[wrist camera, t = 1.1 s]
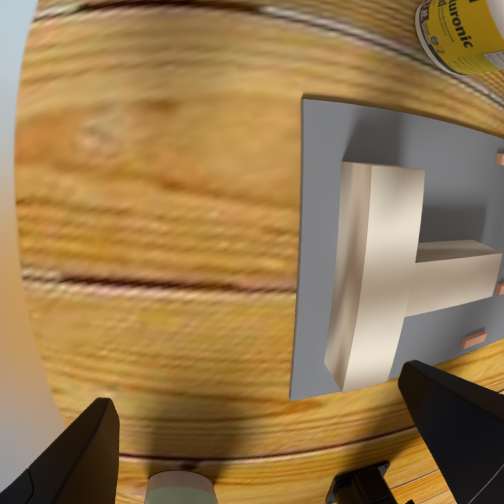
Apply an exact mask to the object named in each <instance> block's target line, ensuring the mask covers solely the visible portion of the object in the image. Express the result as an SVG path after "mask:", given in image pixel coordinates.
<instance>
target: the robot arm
mask: <svg viewBox="0 0 504 504" xmlns="http://www.w3.org/2000/svg"><path fill="white" fill-rule="evenodd" d="M398 387H399V390H400V392H401V394H402V396H403V399H404V401H405V403H406V406H407V408H408V410H409V413H410V415H411V417H412V419H413V422H414V423H415V425H416V427H417V429H418V431H419V433H420V434H421V436H422V438H423V440H424V442H425V443H426V445H427V447H428V449H429V451H430V453H431V454H432V456H433V458H434V460H435V462H436V464H437V466H438V467H439V469H440V471H441V473H442V475H443V477H444V479H445V481H446V483H447V485H448V487H449V488H450V490H451V492H452V494H453V496H454V498H455V500H456V502H457V504H504V395H503V394H499V393H498V392H495V391H493V390H490V389H488V388H485V387H483V386H480V385H477V384H475V383H472V382H470V381H467V380H465V379H462V378H460V377H457V376H455V375H452V374H450V373H447V372H445V371H443V370H440V369H438V368H435V367H433V366H430V365H428V364H426V363H423V362H421V361H418V360H410V361H407V362H405V363H404V364H403V367H402V370H401V373H400V376H399V379H398ZM119 429H120V421H119V417H118V414H117V411H116V409H115V406H114V404H113V401H112V400H111V399H110V398H101V397H99V398H97V399H95V400H94V401H93V402H92V403H91V404H90V405H89V406H88V407H87V408H86V409H85V410H84V411H83V412H82V413H81V414H80V415H79V416H78V417H77V418H76V419H75V420H74V421H73V422H72V423H71V424H70V425H69V426H68V427H67V428H66V429H65V430H64V432H63V433H62V434H60V435H59V436H58V438H57V439H55V441H54V442H53V443H52V444H51V445H50V446H49V447H48V448H47V449H46V450H45V451H44V452H43V453H42V454H41V455H40V456H39V457H38V458H37V459H36V460H35V461H34V462H33V463H32V464H31V465H30V466H29V469H28V468H27V469H26V470H25V471H24V472H23V473H22V474H21V475H20V476H19V477H18V478H17V479H16V480H15V481H13V482H12V484H10V485H9V486H8V487H7V488H6V489H4V490H3V491H2V492H1V493H0V504H115V497H116V487H117V479H118V470H119ZM389 466H390V463H389V461H386V462H383V463H380V464H377V465H374V466H371V467H368V468H365V469H362V470H359V471H356V472H353V473H349V474H346V475H342V476H339V477H337V478H335V479H334V481H333V483H332V486H331V488H330V491H329V493H328V496H327V498H326V500H325V502H326V504H332V503H335V502H337V504H398V503H397V501H396V499H395V498H394V496H393V494H392V492H391V490H390V488H389V486H388V485H387V483H386V481H385V479H384V477H383V476H384V475H385V473H386V471H387V469H388V468H389ZM405 504H415V503H414V502H413V500H412V499H411V500H409V501H407V503H405Z"/></svg>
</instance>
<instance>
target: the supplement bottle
mask: <svg viewBox="0 0 504 504" xmlns="http://www.w3.org/2000/svg"><path fill="white" fill-rule="evenodd" d="M415 26H416V31H417V35H418V38H419V40H420V43H421V45H422V47H423V48H424V50H425V52H426V53H427V55H428V56H429V57H430V59H431V60H432V61H433V62H434V63H435V64H436V65H437V66H439V67H440V68H441V69H443V70H444V71H446V72H448V73H451V74H454V75H467V74H475V73H483V72H493V71H504V0H427V1H426V2H424V3H422V4H421V5H420V6H419V7H418V9H417V11H416V15H415Z"/></svg>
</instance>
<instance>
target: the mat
mask: <svg viewBox="0 0 504 504" xmlns="http://www.w3.org/2000/svg"><path fill="white" fill-rule="evenodd" d="M341 161H345V162H362V163H377V164H390V165H397V166H403V167H409V168H415V169H421V170H425V179H424V193H423V204H422V214H421V223H420V232H419V239H418V243H424V242H441V241H457V240H475V241H477V242H479V243H482V244H484V245H486V246H488V247H490V248H493V249H495V250H497V251H499V252H501V253H502V258H501V263H500V267H499V272H498V276H497V280H496V284H495V288H494V292H493V295H492V296H491V297H488V298H484V299H480V300H477V301H473V302H469V303H465V304H461V305H457V306H453V307H448V308H444V309H440V310H435V311H431V312H426V313H422V314H417V315H412V316H407V317H404V321H403V325H402V330H401V334H400V338H399V341H398V345H397V349H396V353H395V356H394V360H393V364H392V367H391V370H390V374H389V377H388V379H392V378H395V377H399V376H400V373H401V370H402V367H403V364H404V363H405V362H407V361H410V360H418V361H421V362H423V363H426V364H428V365H430V366H434V365H437V364H440V363H442V362H445V361H448V360H451V359H454V358H456V357H459V356H462V355H464V354H467V353H469V352H472V351H474V350H477V349H479V348H482V347H484V346H487V345H489V344H491V343H494V342H496V341H498V340H500V339H503V338H504V139H502V138H499V137H496V136H493V135H490V134H487V133H484V132H480V131H477V130H474V129H470V128H467V127H463V126H459V125H456V124H452V123H448V122H444V121H440V120H436V119H432V118H427V117H423V116H418V115H413V114H408V113H403V112H398V111H393V110H387V109H381V108H375V107H369V106H362V105H355V104H347V103H339V102H330V101H320V100H309V99H302V100H301V190H300V227H299V253H298V275H297V294H296V311H295V326H294V341H293V354H292V367H291V378H290V390H289V399H290V401H293V400H299V399H304V398H310V397H315V396H320V395H325V394H330V393H335V392H340V391H341V390H340V389H339V387H338V385H337V384H336V382H335V380H334V379H333V377H332V375H331V373H330V372H329V370H328V368H327V367H326V365H325V363H324V359H325V352H326V345H327V338H328V330H329V322H330V314H331V305H332V296H333V287H334V277H335V266H336V254H337V241H338V226H339V209H340V188H341Z"/></svg>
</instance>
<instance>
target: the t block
mask: <svg viewBox="0 0 504 504" xmlns="http://www.w3.org/2000/svg"><path fill="white" fill-rule="evenodd" d="M424 179H425V170H421V169H415V168H409V167H403V166H397V165H390V164H377V163H362V162H345V161H341V188H340V209H339V226H338V241H337V254H336V266H335V277H334V287H333V296H332V305H331V314H330V322H329V330H328V338H327V345H326V352H325V359H324V363H325V365H326V367H327V368H328V370H329V372H330V373H331V375H332V377H333V379H334V380H335V382H336V384H337V385H338V387H339V389H340V390H341V392H342V393H345V392H349V391H354V390H358V389H362V388H366V387H370V386H374V385H377V384H381V383H385V382H387V380H388V377H389V374H390V370H391V367H392V364H393V360H394V356H395V353H396V349H397V345H398V341H399V338H400V334H401V330H402V325H403V321H404V317H407V316H412V315H417V314H422V313H426V312H431V311H435V310H440V309H444V308H448V307H453V306H457V305H461V304H465V303H469V302H473V301H477V300H480V299H484V298H488V297H491V296H492V295H493V292H494V288H495V284H496V280H497V276H498V272H499V267H500V263H501V258H502V253H501V252H499V251H497V250H495V249H493V248H490V247H488V246H486V245H484V244H482V243H479V242H477V241H475V240H457V241H441V242H424V243H418V239H419V232H420V223H421V214H422V204H423V193H424Z"/></svg>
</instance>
